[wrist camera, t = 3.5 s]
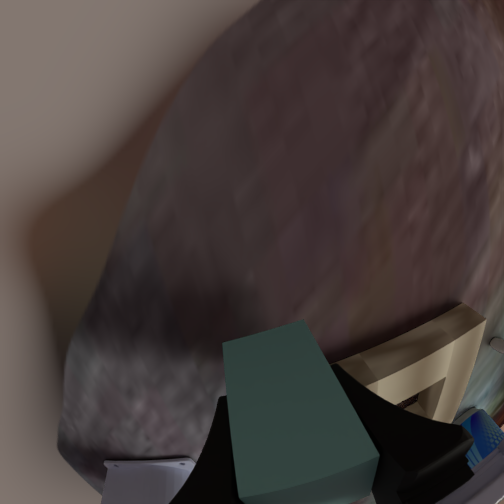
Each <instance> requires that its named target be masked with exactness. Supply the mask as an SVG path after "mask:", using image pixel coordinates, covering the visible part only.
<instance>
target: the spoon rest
mask: <svg viewBox="0 0 504 504" xmlns="http://www.w3.org/2000/svg"><path fill="white" fill-rule="evenodd" d="M490 346H491V347H492V348H493V349H495V350H496V351H498V352H500V353H503V354H504V340H502V339H500V338H494V339H492V340H491V342H490Z"/></svg>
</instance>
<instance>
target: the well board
mask: <svg viewBox="0 0 504 504" xmlns="http://www.w3.org/2000/svg"><path fill="white" fill-rule="evenodd" d="M485 324H486V318H484V317H483V316H481V315H480V314H479V313H477V312H476V311H474V310H473V309H471V308H470V307H469V306H467V305H466V304H464V303H462V304H460V305H458V306H456V307H455V308H453V309H451V310H449V311H448V312H446V313H444V314H442V315H440V316H438V317H436V318H435V319H433V320H431V321H429V322H427V323H425V324H423V325H421V326H419V327H417V328H415V329H413V330H411V331H409V332H407V333H404V334H402V335H400V336H398V337H396V338H394V339H391V340H389V341H387V342H385V343H382V344H380V345H378V346H375V347H373V348H371V349H368V350H366V351H363V352H361V353H358V354H356V355H353V356H351V357H348V358H346V359H343V360H340V361H338V362H335V363H337V364H339V365H340V366H341V367H342V368H343V369H344V370H345V371H346V372H347V373H349V374H350V375H351V376H352V377H353V378H355V379H356V380H357V381H358V382H360V383H361V384H362V385H364V386H365V387H367V388H368V389H369V390H371V391H372V392H374V393H375V394H377V395H378V396H380V397H382V398H383V399H385V400H387V401H389V402H390V403H392V404H394V405H396V404H398V403H400V402H402V401H404V400H406V399H408V398H409V397H411V396H413V395H415V394H417V393H419V396H418V400H417V402H415V403H414V404H412V405H410V406H408V407H406V408H404V409H405V410H407V411H409V412H412V413H414V414H417V415H420V416H423V417H426V418H429V419H433V420H436V421H440V422H445V423H452V421H453V419H454V417H455V414H456V412H457V410H458V407H459V405H460V403H461V400H462V398H463V395H464V393H465V390H466V387H467V385H468V382H469V379H470V376H471V373H472V370H473V367H474V364H475V361H476V358H477V354H478V351H479V347H480V344H481V340H482V336H483V332H484V328H485ZM332 364H334V363H332ZM332 364H329V365H332Z"/></svg>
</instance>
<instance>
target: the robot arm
mask: <svg viewBox="0 0 504 504" xmlns="http://www.w3.org/2000/svg"><path fill="white" fill-rule="evenodd" d="M330 367H331V369H332V370H333V372H334V374H335V376H336V378H337V379H338V381H339V383H340V385H341V386H342V388H343V390H344V392H345V394H346V395H347V397H348V399H349V401H350V403H351V404H352V406H353V408H354V410H355V411H356V413H357V415H358V417H359V419H360V420H361V422H362V424H363V426H364V428H365V430H366V431H367V433H368V435H369V437H370V439H371V440H372V442H373V444H374V446H375V448H376V449H377V451H378V453H379V455H380V456H379V461H378V465H377V469H376V473H375V477H374V481H373V485H372V489H371V490H372V493H373V495H374V498H375V501H376V504H497V503H498V502H499V501H500V500H501V499H502V498H503V497H504V439H503V440H502V441H501V442H500V444H499V445H498V447H497V448H496V449H495V450H494V451H492V452H491V453H490V454H489V455H488V456H487V457H485V458H484V459H483V460H482V461H481V462H479V463H478V464H477V465H476V466H474V467H473V468H472V469H471V468H470V467H469V466H468V464H467V463H468V462H469V460H468V458H467V457H466V456H465V455H466V454H467V453H468V451H469V450H470V448H471V447H472V445H473V443H474V438H473V436H472V435H471V434H470V433H469V432H468V431H467V430H466V429H465V428H464V427H463V426H462V425H457V424H450V423H445V422H440V421H436V420H433V419H429V418H426V417H423V416H420V415H417V414H414V413H412V412H409V411H407V410H405V409H402V408H400V407H398V406H396V405H394V404H392V403H390V402H389V401H387V400H385V399H383V398H382V397H380V396H378V395H377V394H375V393H374V392H372V391H371V390H369V389H368V388H367V387H365V386H364V385H362V384H361V383H360V382H358V381H357V380H356V379H355V378H353V377H352V376H351V375H350V374H349V373H347V372H346V371H345V370H344V369H343V368H342V367H341V366H340V365H339V364H337V363H334V364H332V365H330ZM103 464H104V465H105V466H106V467H107V468H108V470H107V475H106V480H105V485H104V490H103V495H102V501H101V504H244V503H243V502H242V501H241V500H240V499H239V495H238V488H237V481H236V473H235V465H234V457H233V449H232V440H231V431H230V422H229V412H228V402H227V395H226V396H221V397H219V399H218V403H217V408H216V412H215V416H214V419H213V423H212V426H211V429H210V432H209V435H208V438H207V440H206V443H205V445H204V447H203V450H202V452H201V454H200V457H199V459H198V461H197V463H195V462H194V461H193V460H192V459H191V458H177V459H164V460H145V461H108V460H106V461H104V463H103Z"/></svg>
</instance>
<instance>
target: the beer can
mask: <svg viewBox="0 0 504 504" xmlns="http://www.w3.org/2000/svg"><path fill="white" fill-rule="evenodd" d="M452 424H457V425H462V426H463V427H464V428H465V429H466V430H467V431H468V432H469V433H470V434H471V435H472V436H473V438H474V443H473V445H472V447H471V448H470V450H469V451H468V453H467V454H466V455H465V456H466V457H467V458H468V460H469V462H468V463H467V464H468V466H469V467H470V468H471V469H472V468H473V467H474V466H476V465H477V464H478V463H479V462H481V461H482V460H483V459H484V458H485V457H487V456H488V455H489V454H490V453H491V452H492V451H494V450H495V449H496V448H497V447H498V445H499V444H500V442H501V441H502V440H503V439H504V432H503V431H502V430H501V429H500V428H499V427H498V425H497V424H496V423H495V422H494V421H493V420H492V419H491V417H490V416H489V415H488V414H487V413H486V412H485V411H484V410H483V409H476V408H472V409H470V410H468V411H467V412H465V413H464V414H462V415H461V416H460V417H459V418H458V419H457V420H455V421H454V422H453V423H452ZM503 499H504V497H503V498H502V499H501V500H500V501H499V502H501V501H502V500H503ZM499 502H498V503H499ZM498 503H497V504H498Z"/></svg>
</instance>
